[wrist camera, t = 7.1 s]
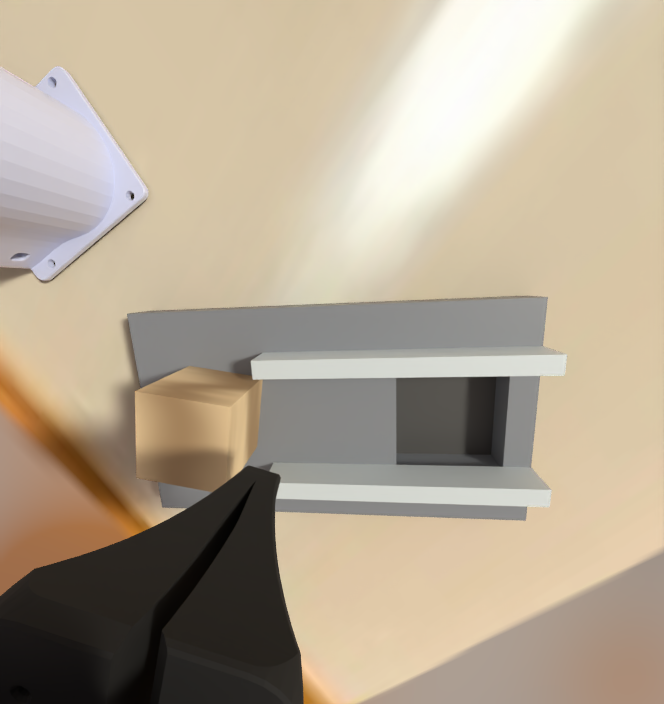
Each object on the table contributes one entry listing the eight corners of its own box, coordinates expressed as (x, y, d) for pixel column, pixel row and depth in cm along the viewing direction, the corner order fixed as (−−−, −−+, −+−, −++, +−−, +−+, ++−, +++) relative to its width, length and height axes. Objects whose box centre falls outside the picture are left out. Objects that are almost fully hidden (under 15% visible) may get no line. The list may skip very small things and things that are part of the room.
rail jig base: (527, 295, 18) (573, 299, 14) (510, 497, 20) (544, 548, 16) (150, 310, 20) (98, 317, 16) (179, 488, 23) (141, 530, 19)
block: (262, 377, 18) (230, 407, 14) (257, 446, 19) (225, 494, 15) (189, 365, 18) (134, 391, 14) (187, 434, 19) (136, 477, 15)
